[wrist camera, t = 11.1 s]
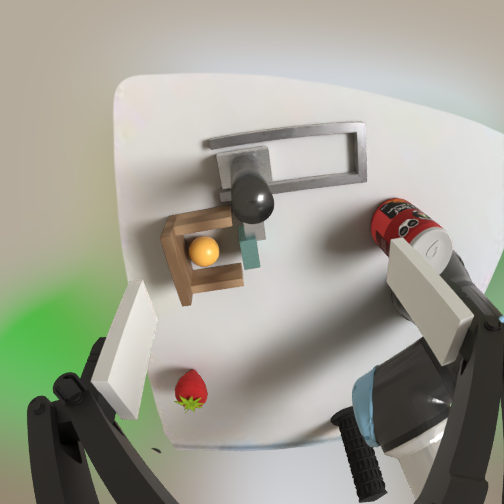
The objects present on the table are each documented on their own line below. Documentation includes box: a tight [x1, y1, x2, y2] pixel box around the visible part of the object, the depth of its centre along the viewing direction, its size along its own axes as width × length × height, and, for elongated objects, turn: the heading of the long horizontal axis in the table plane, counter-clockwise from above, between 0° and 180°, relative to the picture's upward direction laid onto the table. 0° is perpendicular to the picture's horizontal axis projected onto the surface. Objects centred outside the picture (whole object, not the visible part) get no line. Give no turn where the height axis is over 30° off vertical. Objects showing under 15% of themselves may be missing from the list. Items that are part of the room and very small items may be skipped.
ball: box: [189, 236, 219, 267], centre depth 40 cm, size 4×4×4 cm
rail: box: [210, 121, 367, 202], centre depth 36 cm, size 19×8×1 cm, turn 98°
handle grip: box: [331, 406, 387, 503], centre depth 58 cm, size 10×26×10 cm
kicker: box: [217, 146, 274, 270], centre depth 33 cm, size 6×14×14 cm, turn 8°
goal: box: [160, 205, 244, 306], centre depth 39 cm, size 8×10×6 cm
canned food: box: [371, 198, 453, 275], centre depth 37 cm, size 8×8×11 cm
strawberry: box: [174, 370, 208, 413], centre depth 50 cm, size 6×8×10 cm
